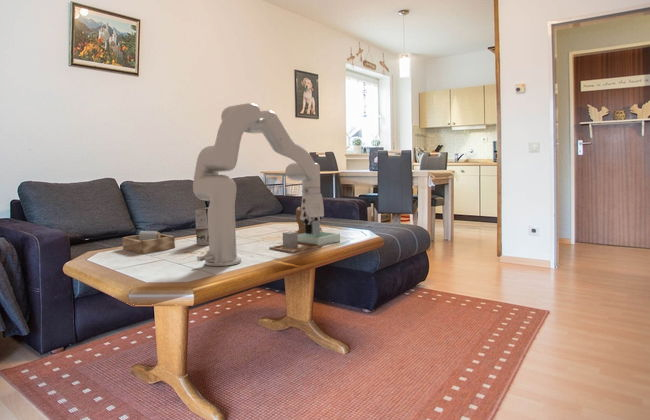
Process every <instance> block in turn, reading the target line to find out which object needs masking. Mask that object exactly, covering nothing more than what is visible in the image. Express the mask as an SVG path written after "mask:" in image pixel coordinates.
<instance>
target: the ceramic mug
mask: <svg viewBox="0 0 650 420" xmlns="http://www.w3.org/2000/svg"><path fill="white" fill-rule="evenodd" d="M160 234H161V232H159V231H157V230H155V231H153V230H152V231H151V230H140V231H139V233H138V235H139V241H144V240H151V239H158V238H161V235H160Z"/></svg>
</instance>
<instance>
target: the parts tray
mask: <svg viewBox="0 0 650 420" xmlns="http://www.w3.org/2000/svg"><path fill="white" fill-rule="evenodd" d="M322 247H323V245H318V244H311V243H305V242H298V247H294V248H285V247H283V244H279V245H273V246H269V248H268V249H269V250H271V251H276V252H283V253H289V254H299V253H301V252H305V251H310V250H311V251H312V250H314V249H315V250H316V249H319V248H322Z"/></svg>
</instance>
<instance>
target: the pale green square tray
mask: <svg viewBox="0 0 650 420" xmlns="http://www.w3.org/2000/svg"><path fill="white" fill-rule="evenodd" d="M298 242H305V243H311V244H318V245H322V246H325V245H329V244H333V243H341V234H340V233H336V232H327V231H323V232H321V231H320V234H316V235H308V234H306V233H303V234H298Z"/></svg>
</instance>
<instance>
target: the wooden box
mask: <svg viewBox="0 0 650 420" xmlns="http://www.w3.org/2000/svg"><path fill="white" fill-rule="evenodd" d="M160 235H161V238H158V239H151V240H144V241H139V234H137V235H130V236H124V237H122V239H121V240H122V249H123V250H125V251H129V252H133V253H136V254H141V255H142V254H147V253H154V252H160V251H165V250H171V249H176V243H175V242H176V241H175V236H174V235H169V234H166V233H165V234H164V233H160Z"/></svg>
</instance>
